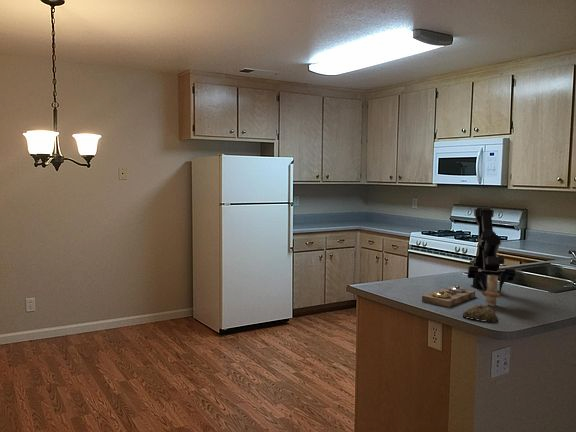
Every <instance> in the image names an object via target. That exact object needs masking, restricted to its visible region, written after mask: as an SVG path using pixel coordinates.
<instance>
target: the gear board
mask: <svg viewBox="0 0 576 432" xmlns="http://www.w3.org/2000/svg"><path fill="white" fill-rule="evenodd" d="M448 287H452V286H447V287H444V288H441V289H438V290H436V291H434V292H437V291H444V292H447V293H449V294H451V298H446V299H443V298H436V297H434V296H432V292H429V293H426V294H422V295H421V302H423V303H428V304H433V305H437V306H441V307H445V306H446V307H445V308H450V307H452V305H453V306H455V305H458V304H461V303H463V302H465V300H466V301H467V300H470V298H471V299H473V298H475V297H476V291H475V290H472V289H471V290H470V289H467V290H466V292H461V293H459V292H452V291H448ZM462 301H463V302H462ZM457 303H458V304H457ZM454 304H455V305H454ZM449 306H450V307H449Z"/></svg>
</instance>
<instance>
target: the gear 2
mask: <svg viewBox="0 0 576 432" xmlns="http://www.w3.org/2000/svg"><path fill="white" fill-rule="evenodd" d="M447 287H448V291H452V292H459V293H461V292H466V290H468V289H467V288H465V287H463V286H460V285H455V286H454V285H452V286H451V287H450V286H447Z"/></svg>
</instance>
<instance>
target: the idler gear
mask: <svg viewBox="0 0 576 432" xmlns="http://www.w3.org/2000/svg"><path fill="white" fill-rule="evenodd" d="M498 280H499V276H497V275H488V277H487V288H486V290H484V291H482V292H481V294H482V296H483V297H485V306H488V305H490V306H489V307H496V306H497V299H499V298H501V297H502V293H500V292H498V284H499V283H498Z"/></svg>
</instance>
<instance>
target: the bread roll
mask: <svg viewBox="0 0 576 432" xmlns="http://www.w3.org/2000/svg"><path fill="white" fill-rule="evenodd" d="M462 315H463V316H464V317H469V318H473V319H479V320H486V321H495V322H497V321H498V316H497V314H496V312H495V311H494V309H492V308H491V307H490V306H488V305H483V304H480V305H475V306H472V307H469V308H468V309H466V310H465V311H464V312H463V313H462ZM462 315H461V316H462ZM496 320H497V321H496Z"/></svg>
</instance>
